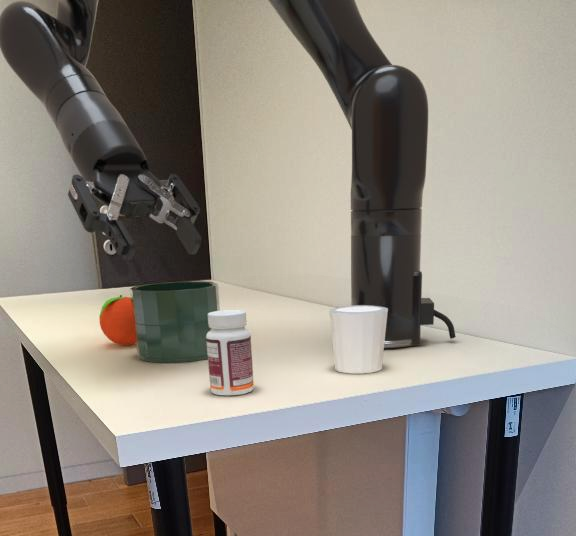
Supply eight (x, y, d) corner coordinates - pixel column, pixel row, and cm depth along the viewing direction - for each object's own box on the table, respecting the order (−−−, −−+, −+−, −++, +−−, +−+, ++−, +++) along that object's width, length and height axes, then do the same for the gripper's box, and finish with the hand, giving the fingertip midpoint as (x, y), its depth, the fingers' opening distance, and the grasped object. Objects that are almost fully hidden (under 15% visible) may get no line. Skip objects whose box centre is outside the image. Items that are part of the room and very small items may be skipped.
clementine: (122, 351, 106) (116, 299, 103) (87, 348, 109) (80, 298, 107) (159, 342, 112) (154, 292, 109) (125, 339, 116) (119, 291, 113)
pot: (227, 345, 108) (222, 280, 104) (215, 361, 97) (210, 289, 94) (149, 347, 108) (142, 282, 105) (128, 363, 98) (120, 292, 94)
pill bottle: (256, 385, 84) (252, 308, 80) (250, 396, 79) (245, 314, 76) (214, 386, 84) (209, 309, 81) (206, 396, 80) (199, 316, 77)
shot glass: (392, 363, 92) (393, 304, 89) (380, 375, 86) (381, 313, 83) (338, 361, 94) (338, 304, 91) (322, 373, 88) (321, 312, 85)
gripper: (50, 115, 80) (117, 230, 77) (163, 119, 89) (228, 223, 85) (37, 172, 86) (99, 281, 83) (144, 171, 95) (204, 270, 91)
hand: (164, 251), depth 84 cm, fingers open, 8 cm apart
